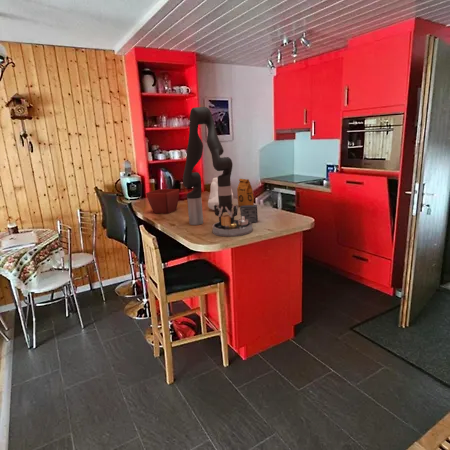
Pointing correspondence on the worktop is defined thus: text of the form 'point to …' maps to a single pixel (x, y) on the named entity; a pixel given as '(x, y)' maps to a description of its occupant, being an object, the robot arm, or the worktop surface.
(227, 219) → the planet gear
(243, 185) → the coffee package
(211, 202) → the decorative rooster
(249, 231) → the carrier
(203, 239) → the worktop surface
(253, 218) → the small box
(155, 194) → the plant pot
